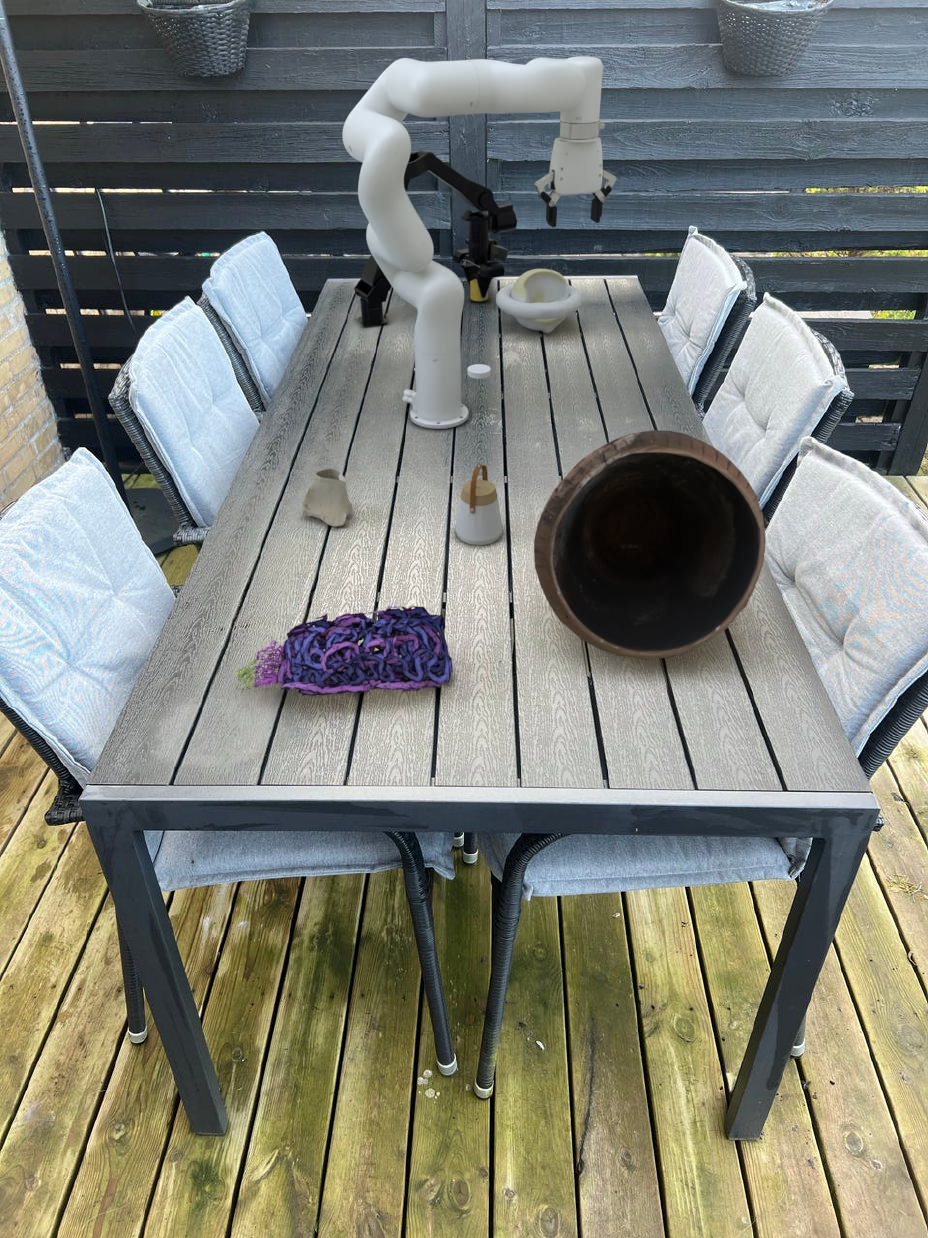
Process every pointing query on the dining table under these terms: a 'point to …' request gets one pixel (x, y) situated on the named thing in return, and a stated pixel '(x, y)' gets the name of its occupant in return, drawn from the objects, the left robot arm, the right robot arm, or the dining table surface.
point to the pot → (650, 545)
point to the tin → (476, 291)
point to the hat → (539, 299)
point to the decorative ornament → (358, 654)
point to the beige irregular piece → (327, 498)
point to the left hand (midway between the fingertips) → (478, 294)
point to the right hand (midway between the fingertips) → (573, 223)
